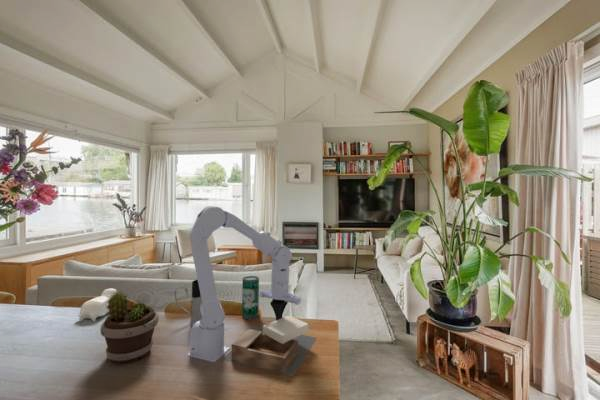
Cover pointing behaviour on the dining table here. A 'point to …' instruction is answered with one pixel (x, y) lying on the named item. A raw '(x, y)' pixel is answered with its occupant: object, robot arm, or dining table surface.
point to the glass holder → (193, 302)
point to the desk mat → (303, 349)
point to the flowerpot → (128, 329)
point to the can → (250, 297)
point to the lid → (285, 329)
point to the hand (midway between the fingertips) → (279, 321)
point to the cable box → (264, 351)
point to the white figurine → (96, 306)
